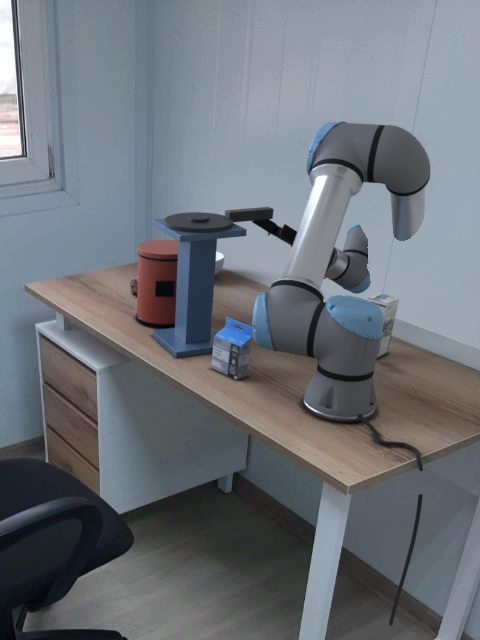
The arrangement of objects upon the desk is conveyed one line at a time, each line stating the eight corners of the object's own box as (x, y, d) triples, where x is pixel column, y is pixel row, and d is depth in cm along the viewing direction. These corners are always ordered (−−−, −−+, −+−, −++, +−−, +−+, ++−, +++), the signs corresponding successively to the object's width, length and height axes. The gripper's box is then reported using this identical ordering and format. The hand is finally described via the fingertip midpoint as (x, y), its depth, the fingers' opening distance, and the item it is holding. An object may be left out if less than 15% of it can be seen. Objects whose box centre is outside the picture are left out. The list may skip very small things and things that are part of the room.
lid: (180, 235, 168) (181, 224, 167) (153, 219, 181) (154, 209, 180) (287, 225, 176) (288, 214, 175) (254, 210, 189) (254, 201, 188)
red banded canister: (192, 329, 201) (196, 255, 190) (135, 328, 201) (135, 254, 191) (190, 309, 214) (194, 239, 203) (137, 308, 215) (138, 238, 204)
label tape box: (210, 368, 179) (213, 319, 172) (222, 364, 181) (226, 316, 174) (236, 380, 173) (240, 330, 166) (248, 376, 175) (253, 326, 168)
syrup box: (367, 347, 190) (377, 291, 182) (388, 353, 186) (400, 297, 179) (355, 353, 187) (365, 297, 179) (376, 359, 183) (388, 302, 175)
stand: (207, 327, 202) (214, 213, 186) (236, 350, 188) (246, 229, 172) (149, 335, 197) (152, 219, 181) (175, 359, 184) (180, 235, 168)
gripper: (345, 285, 185) (286, 249, 174) (292, 259, 205) (237, 225, 194) (362, 258, 183) (303, 220, 172) (307, 234, 203) (252, 199, 192)
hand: (268, 223), depth 183 cm, fingers open, 13 cm apart
